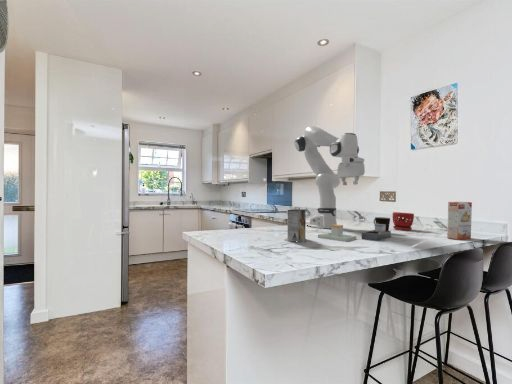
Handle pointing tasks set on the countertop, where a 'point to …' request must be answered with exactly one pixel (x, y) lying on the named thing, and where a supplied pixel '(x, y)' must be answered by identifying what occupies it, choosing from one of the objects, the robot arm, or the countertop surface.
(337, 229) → the plug
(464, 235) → the cracker box
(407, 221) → the plant pot
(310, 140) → the robot arm
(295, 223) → the coffee box
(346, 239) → the tray
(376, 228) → the twin plug
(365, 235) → the power strip
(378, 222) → the coffee mug
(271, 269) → the countertop surface
